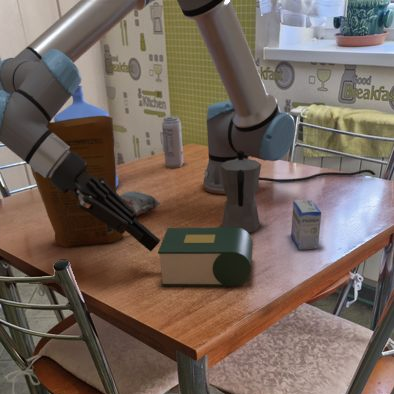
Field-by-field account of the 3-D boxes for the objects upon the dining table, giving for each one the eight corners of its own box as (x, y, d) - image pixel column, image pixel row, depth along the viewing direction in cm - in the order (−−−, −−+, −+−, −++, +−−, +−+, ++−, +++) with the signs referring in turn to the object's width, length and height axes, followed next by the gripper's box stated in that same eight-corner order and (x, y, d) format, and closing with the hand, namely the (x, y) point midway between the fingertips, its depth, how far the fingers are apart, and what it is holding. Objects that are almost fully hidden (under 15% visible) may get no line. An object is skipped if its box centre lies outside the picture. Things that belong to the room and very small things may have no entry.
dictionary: (252, 260, 112) (252, 226, 107) (251, 286, 102) (251, 251, 97) (170, 260, 114) (167, 227, 109) (161, 286, 104) (157, 251, 100)
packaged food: (138, 221, 133) (136, 202, 130) (107, 212, 140) (105, 194, 137) (161, 211, 139) (159, 193, 136) (131, 203, 145) (129, 186, 142)
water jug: (84, 178, 167) (67, 81, 150) (127, 181, 161) (114, 81, 145) (57, 194, 155) (35, 91, 139) (103, 198, 150) (85, 92, 134)
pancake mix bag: (129, 244, 122) (111, 117, 106) (47, 252, 121) (17, 124, 105) (129, 233, 127) (112, 110, 111) (51, 240, 126) (22, 117, 110)
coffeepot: (222, 217, 133) (220, 144, 122) (259, 216, 132) (260, 142, 121) (220, 242, 120) (218, 163, 110) (261, 241, 119) (262, 161, 109)
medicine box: (290, 236, 121) (292, 200, 116) (309, 235, 121) (312, 198, 116) (298, 250, 114) (301, 212, 109) (318, 248, 114) (322, 211, 109)
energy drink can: (186, 166, 172) (183, 117, 163) (170, 169, 170) (166, 120, 161) (178, 162, 176) (174, 114, 168) (162, 165, 174) (158, 117, 165)
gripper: (60, 169, 105) (149, 244, 113) (37, 190, 95) (138, 272, 102) (80, 141, 101) (171, 221, 109) (59, 160, 91) (162, 247, 99)
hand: (155, 245), depth 106 cm, fingers closed
